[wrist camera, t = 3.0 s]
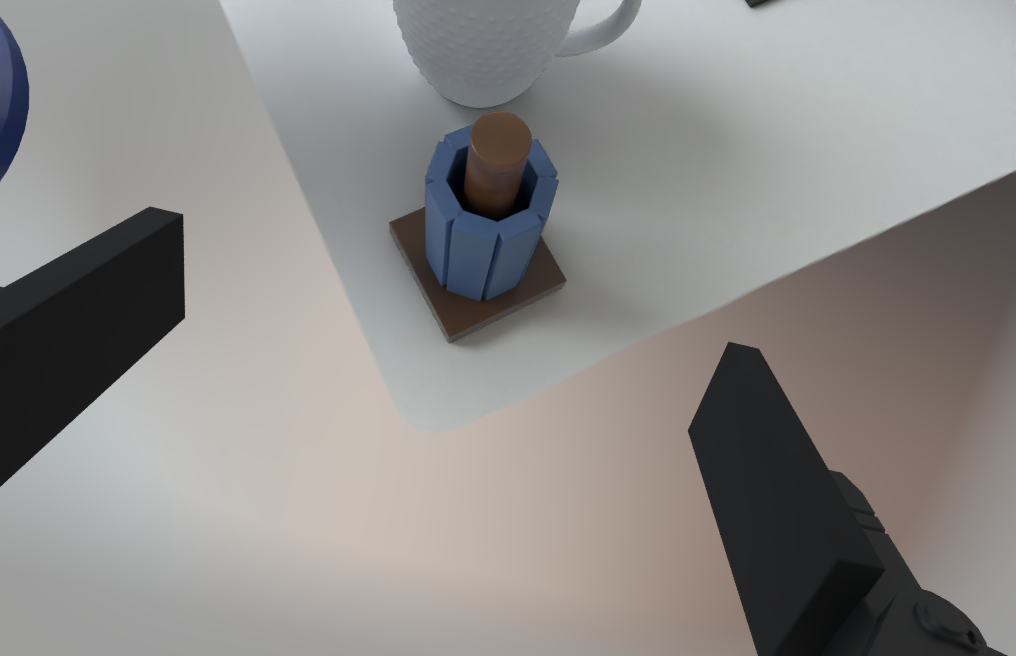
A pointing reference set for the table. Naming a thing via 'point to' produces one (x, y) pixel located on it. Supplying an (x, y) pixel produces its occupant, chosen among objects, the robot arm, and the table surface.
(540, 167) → the sleeve
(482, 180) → the dowel stand
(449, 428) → the table surface
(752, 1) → the mat
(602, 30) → the mug
